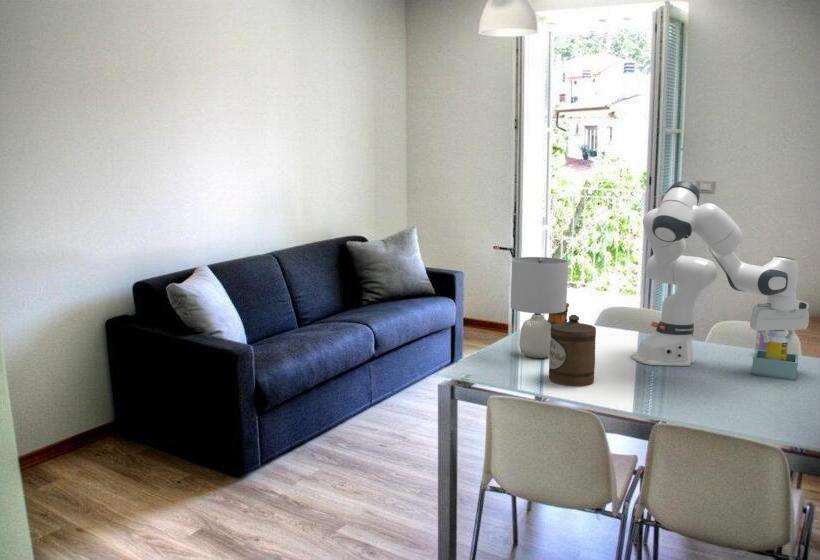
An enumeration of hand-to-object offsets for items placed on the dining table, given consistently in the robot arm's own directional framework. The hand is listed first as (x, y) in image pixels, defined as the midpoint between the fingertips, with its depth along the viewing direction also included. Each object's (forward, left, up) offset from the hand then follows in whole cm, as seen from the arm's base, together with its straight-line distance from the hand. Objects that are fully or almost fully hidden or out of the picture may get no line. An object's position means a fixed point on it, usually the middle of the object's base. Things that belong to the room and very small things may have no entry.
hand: (777, 342), depth 249 cm
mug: (-51, +73, -11) cm, 90 cm away
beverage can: (+11, +21, -11) cm, 26 cm away
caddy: (0, 0, -11) cm, 11 cm away
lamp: (-76, +32, -11) cm, 83 cm away
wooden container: (-75, +1, -11) cm, 76 cm away
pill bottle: (0, 0, -8) cm, 8 cm away
